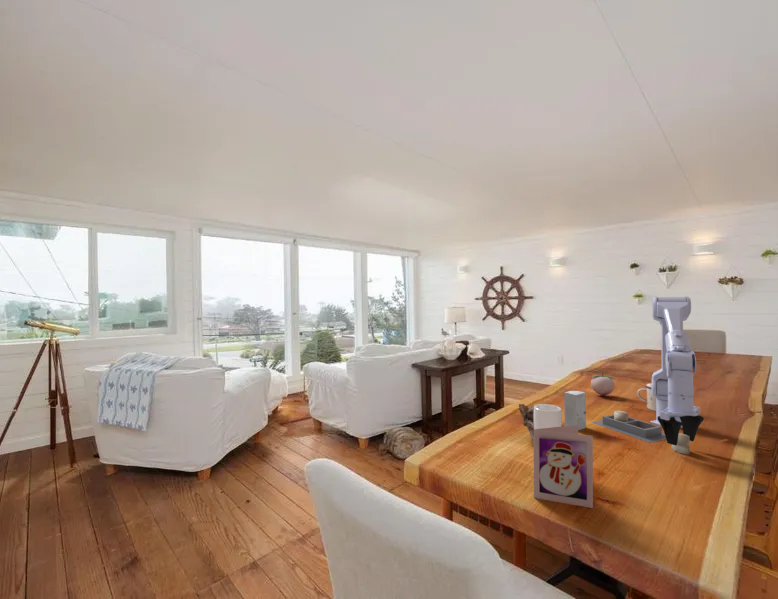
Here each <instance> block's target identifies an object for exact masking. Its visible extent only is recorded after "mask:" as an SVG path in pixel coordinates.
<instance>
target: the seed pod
mask: <svg viewBox="0 0 778 599" xmlns="http://www.w3.org/2000/svg"><path fill="white" fill-rule="evenodd" d="M535 405H536V404H532V405H530V406H529V407H528V406H526V405H525V404H523V403H520V404H518V410H519V413H520V414H521V417H522V425H523V427H527V431H528V432H529V435H530V438H531V440H532V443H533V444H534V406H535Z"/></svg>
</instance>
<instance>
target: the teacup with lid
mask: <svg viewBox="0 0 778 599" xmlns="http://www.w3.org/2000/svg"><path fill="white" fill-rule="evenodd" d="M645 387H646V388H644V387H643V388H639V389H638V390H637V392H636V394H637V397H638V399H639V400H641V401H643V402H646V408H647V409H648V410H650V411H653V412H656V396H653V395H652V391H651V383H646V386H645ZM641 391H645V392H646V399H645V398H643V397H641V394H640V392H641Z"/></svg>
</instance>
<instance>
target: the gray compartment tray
mask: <svg viewBox="0 0 778 599" xmlns="http://www.w3.org/2000/svg"><path fill="white" fill-rule="evenodd" d="M590 423H592V424H595V425H597V426H599V427H603V428H607V429H609V430H612V431H614V432H617V433H621V434H623V435H626V436H629V437H632V438H635V439H638V440H640V441H643V442H646V443H648V444H649V443H650V444H652V443H656V442H660V441H665V440H666V436H665V433H664V432H662V430H663V428H662V426H661V425H658V424H655V423H652V422H647V421H643V420H640V419H638V418H637V419H636V418H633V417H630V416H628V421H627V422H621V421H618V420H615V419H614V414H610V415H604V416H602V419H600V420H596V421H592V422H590Z"/></svg>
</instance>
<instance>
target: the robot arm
mask: <svg viewBox="0 0 778 599" xmlns="http://www.w3.org/2000/svg"><path fill="white" fill-rule="evenodd" d="M651 300H652V301H651V303H652V305H651V306H652V318H653V320H654V321H657V322H659V325H660V326H661V330H660V331H661V333H660V334H661V336H660V337H661V338H660V339H661V341H660V342H661V344H660V345H661V347H660V348H661V368H660V369H658V370H656V371H654V372H653V373H652V375H651V391H652V395H653V396H656V411H655V412H656V413H655V414H656V416H655V417H656V418H655V419H654V420H650V422H649V423H651V424H655V425H658V426H660V427H662V430H663V433H665V436H666V439H665V440H666V443H667V444H668V445H669V444H670V445H671V446H672V445H677V442H678V434H679V433H680V430H681V429H682V434H685V435H688V436H689V437H690V442H694V441H695V439H696V435H697V431H698V429H699V427H700V425H701V424H702V422H703V421H704V419H705V418H704V416H701V415H700V414H701V407H699V406H695V405H694V374H695V373H696V370H697V359H696V354H695V352H694V349H692V346H691V341H690V336H689V334H688V333H687V332H684V322H686V321H687V320H688V318H689V316H690V315H691V312H692V301H691V298H690V297H689V296H653V298H652V299H651Z"/></svg>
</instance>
